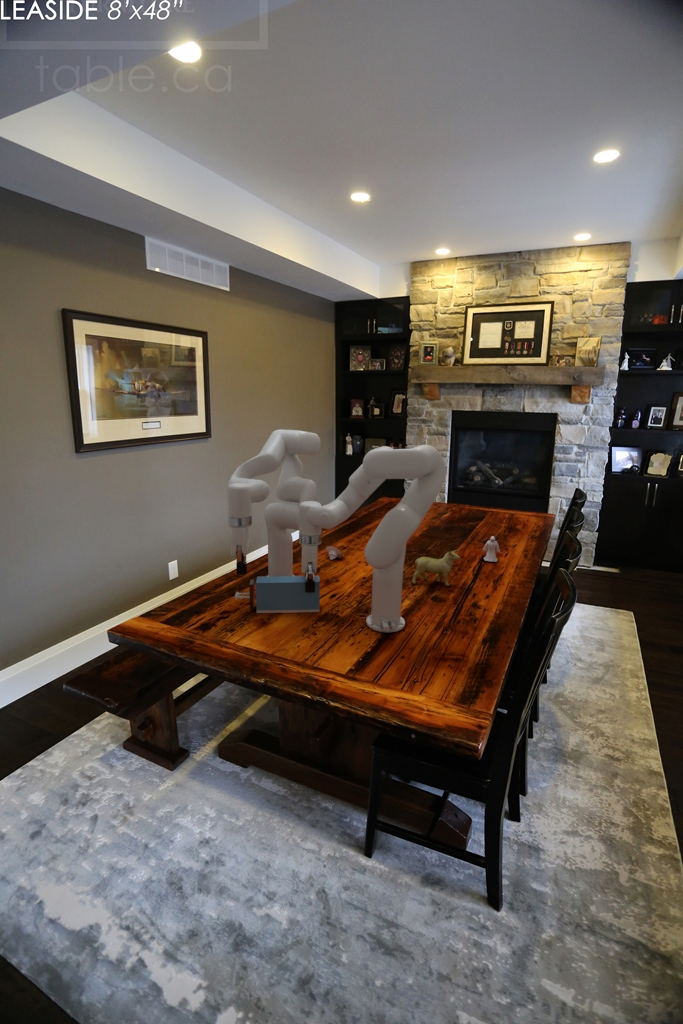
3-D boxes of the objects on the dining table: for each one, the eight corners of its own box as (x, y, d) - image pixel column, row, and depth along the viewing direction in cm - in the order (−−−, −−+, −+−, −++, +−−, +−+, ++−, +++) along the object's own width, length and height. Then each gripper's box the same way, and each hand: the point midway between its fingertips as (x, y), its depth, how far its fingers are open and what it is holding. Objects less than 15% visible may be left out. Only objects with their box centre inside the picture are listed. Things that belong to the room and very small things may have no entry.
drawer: (234, 610, 169) (233, 584, 166) (236, 604, 173) (235, 579, 171) (310, 609, 171) (310, 583, 168) (310, 603, 175) (310, 578, 173)
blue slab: (256, 613, 169) (255, 582, 166) (257, 605, 174) (257, 576, 172) (319, 612, 170) (319, 582, 168) (319, 604, 176) (319, 575, 173)
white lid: (330, 566, 224) (319, 552, 223) (336, 559, 227) (325, 546, 227) (340, 561, 218) (328, 547, 217) (346, 554, 221) (335, 540, 220)
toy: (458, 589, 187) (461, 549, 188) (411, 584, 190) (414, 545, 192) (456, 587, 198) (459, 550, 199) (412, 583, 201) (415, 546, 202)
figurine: (481, 562, 222) (483, 536, 219) (482, 556, 230) (484, 531, 227) (499, 564, 220) (501, 538, 217) (499, 558, 228) (501, 533, 225)
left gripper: (231, 515, 170) (233, 565, 175) (225, 527, 156) (227, 582, 160) (254, 515, 171) (255, 565, 175) (249, 527, 157) (250, 581, 161)
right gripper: (299, 530, 175) (299, 577, 179) (298, 546, 158) (298, 597, 162) (320, 530, 175) (320, 577, 180) (322, 546, 159) (321, 597, 163)
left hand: (241, 573), depth 168 cm, fingers closed
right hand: (309, 586), depth 171 cm, fingers open, 8 cm apart
